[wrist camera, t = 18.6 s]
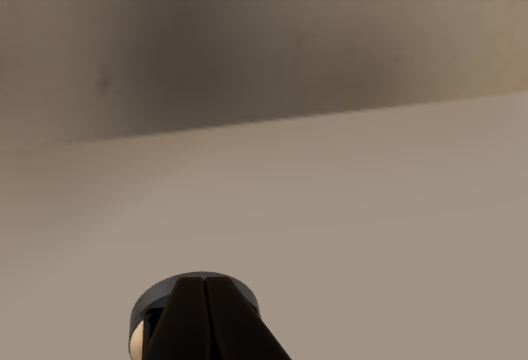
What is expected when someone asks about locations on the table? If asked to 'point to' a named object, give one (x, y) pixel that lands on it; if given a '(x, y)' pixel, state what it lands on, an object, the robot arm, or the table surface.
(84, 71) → the table surface
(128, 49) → the table surface
